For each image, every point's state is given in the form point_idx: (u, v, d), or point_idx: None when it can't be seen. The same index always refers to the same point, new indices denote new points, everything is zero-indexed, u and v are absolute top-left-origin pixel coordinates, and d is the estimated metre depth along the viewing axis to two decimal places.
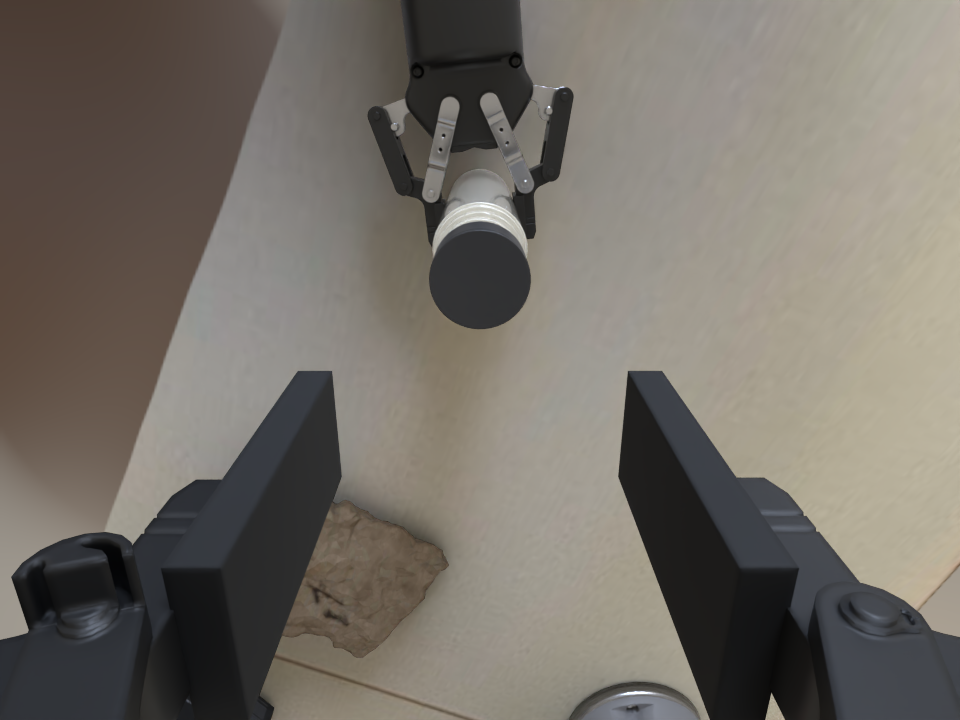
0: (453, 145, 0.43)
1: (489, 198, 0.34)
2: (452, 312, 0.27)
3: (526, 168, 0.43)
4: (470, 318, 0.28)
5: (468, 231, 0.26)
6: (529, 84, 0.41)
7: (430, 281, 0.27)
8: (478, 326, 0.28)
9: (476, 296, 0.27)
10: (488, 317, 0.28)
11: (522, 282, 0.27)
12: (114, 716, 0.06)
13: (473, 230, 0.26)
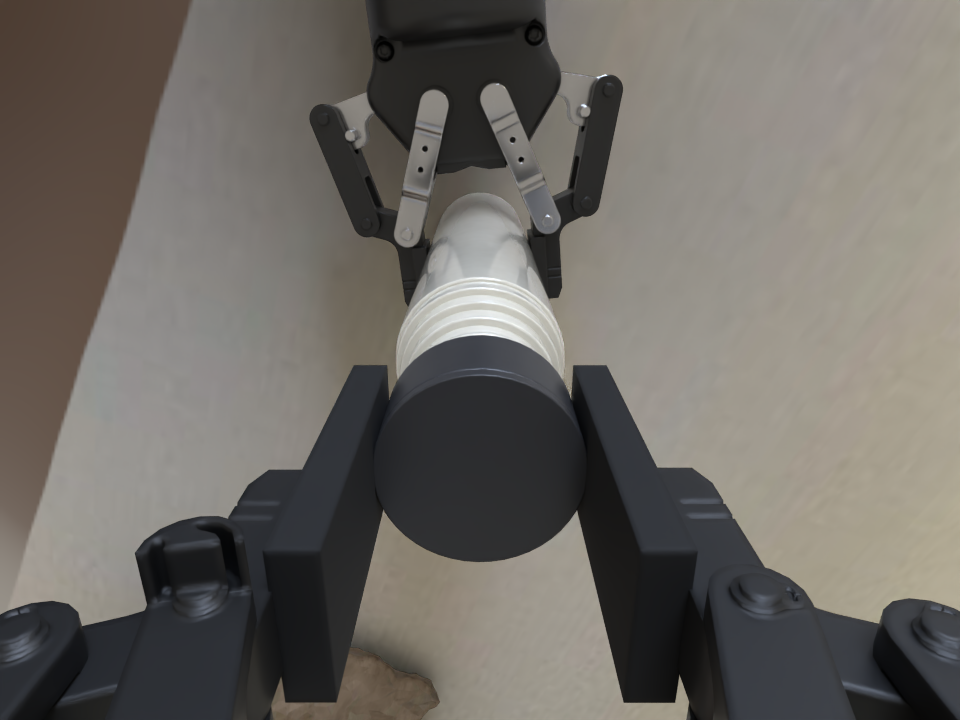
0: (440, 163, 0.28)
1: (496, 263, 0.19)
2: (422, 532, 0.13)
3: (549, 197, 0.29)
4: (460, 543, 0.13)
5: (455, 376, 0.12)
6: (555, 71, 0.27)
7: (374, 475, 0.13)
8: (477, 557, 0.13)
9: (473, 503, 0.13)
10: (498, 541, 0.13)
11: (570, 477, 0.13)
12: (225, 697, 0.06)
13: (466, 373, 0.12)
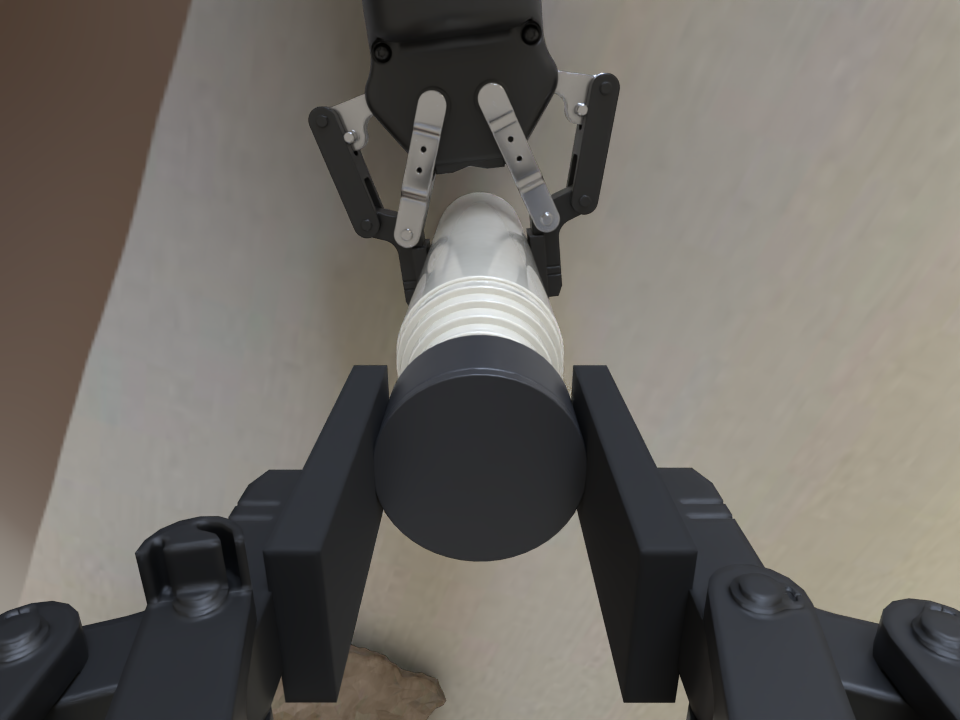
0: (438, 163, 0.28)
1: (495, 262, 0.19)
2: (570, 481, 0.13)
3: (548, 196, 0.29)
4: (561, 446, 0.12)
5: (412, 537, 0.13)
6: (552, 69, 0.27)
7: (538, 545, 0.13)
8: (567, 423, 0.12)
9: (512, 461, 0.13)
10: (536, 418, 0.12)
11: (427, 406, 0.12)
12: (226, 697, 0.06)
13: None
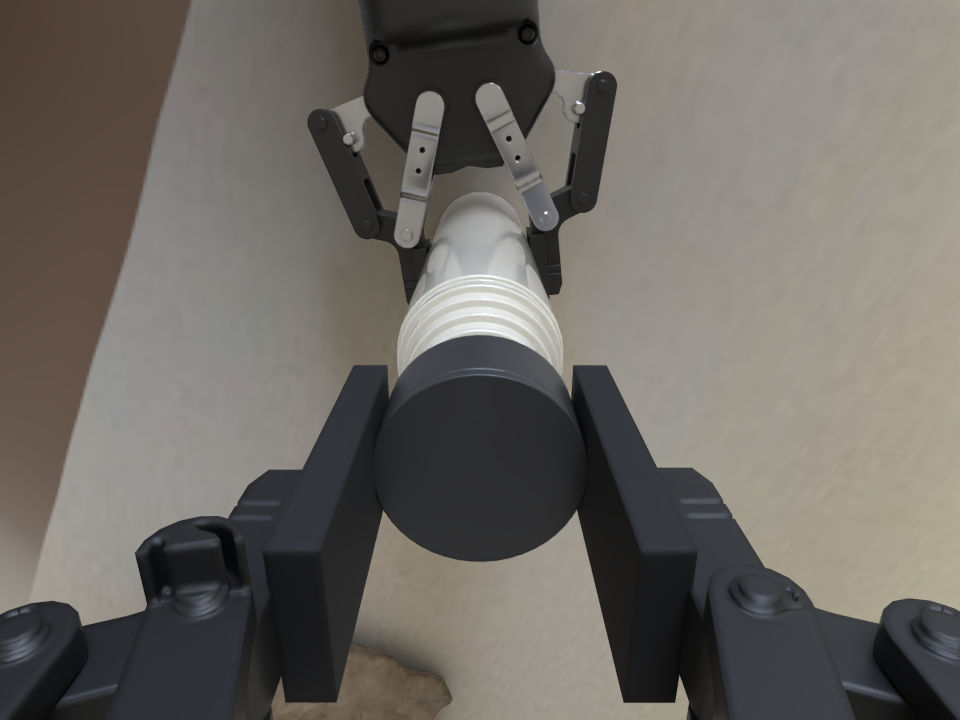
0: (437, 164, 0.29)
1: (494, 261, 0.20)
2: (431, 402, 0.12)
3: (547, 194, 0.29)
4: (406, 432, 0.12)
5: (585, 481, 0.13)
6: (549, 69, 0.27)
7: (515, 383, 0.12)
8: (383, 442, 0.12)
9: (449, 458, 0.13)
10: (397, 467, 0.13)
11: (449, 544, 0.13)
12: (226, 697, 0.06)
13: (582, 489, 0.13)
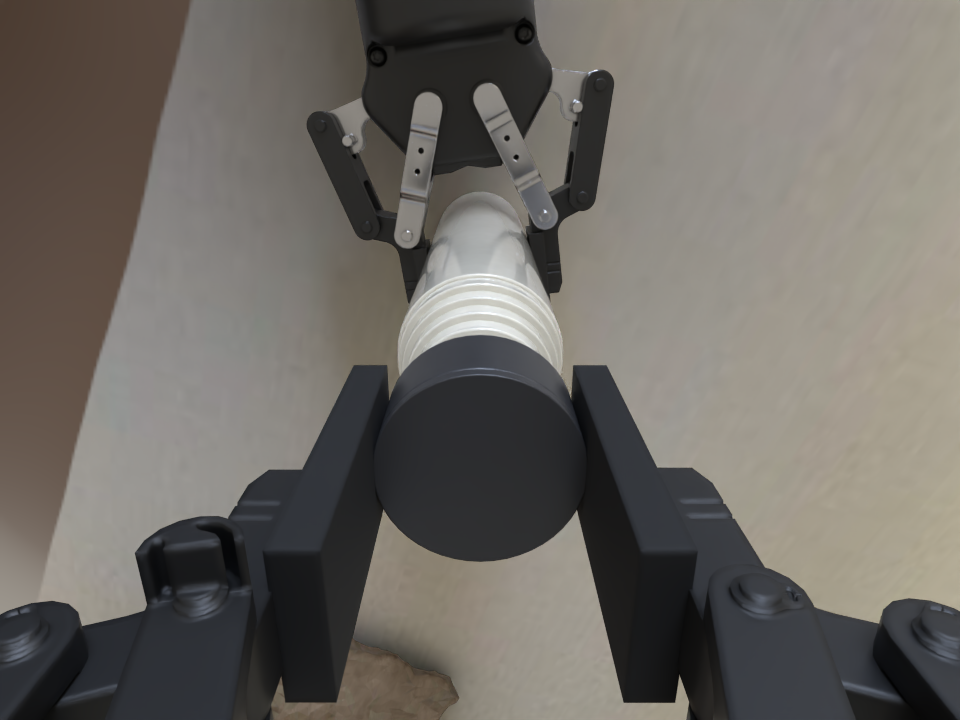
0: (436, 164, 0.29)
1: (493, 260, 0.20)
2: (444, 543, 0.13)
3: (546, 193, 0.29)
4: (484, 544, 0.13)
5: (425, 386, 0.12)
6: (546, 68, 0.27)
7: (381, 500, 0.13)
8: (504, 554, 0.13)
9: (483, 503, 0.13)
10: (519, 534, 0.13)
11: (569, 453, 0.12)
12: (225, 697, 0.06)
13: (435, 381, 0.12)
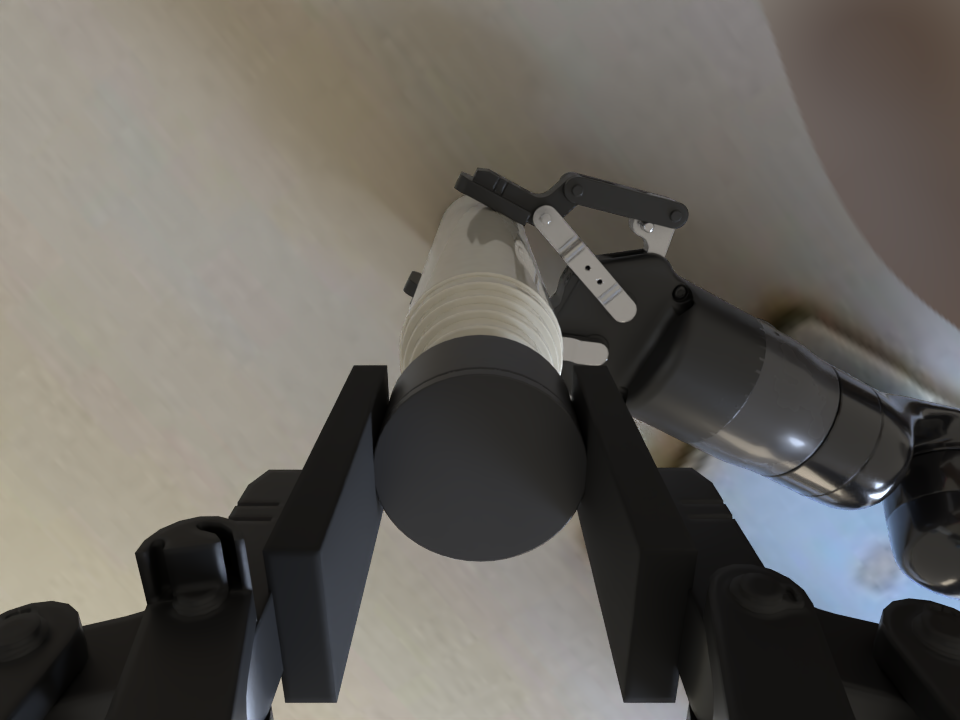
0: (579, 281, 0.31)
1: None
2: (444, 543, 0.13)
3: None
4: (484, 544, 0.13)
5: (425, 386, 0.12)
6: None
7: (381, 500, 0.13)
8: (504, 554, 0.13)
9: (482, 503, 0.13)
10: (519, 534, 0.13)
11: (569, 453, 0.12)
12: (225, 697, 0.06)
13: (435, 381, 0.12)
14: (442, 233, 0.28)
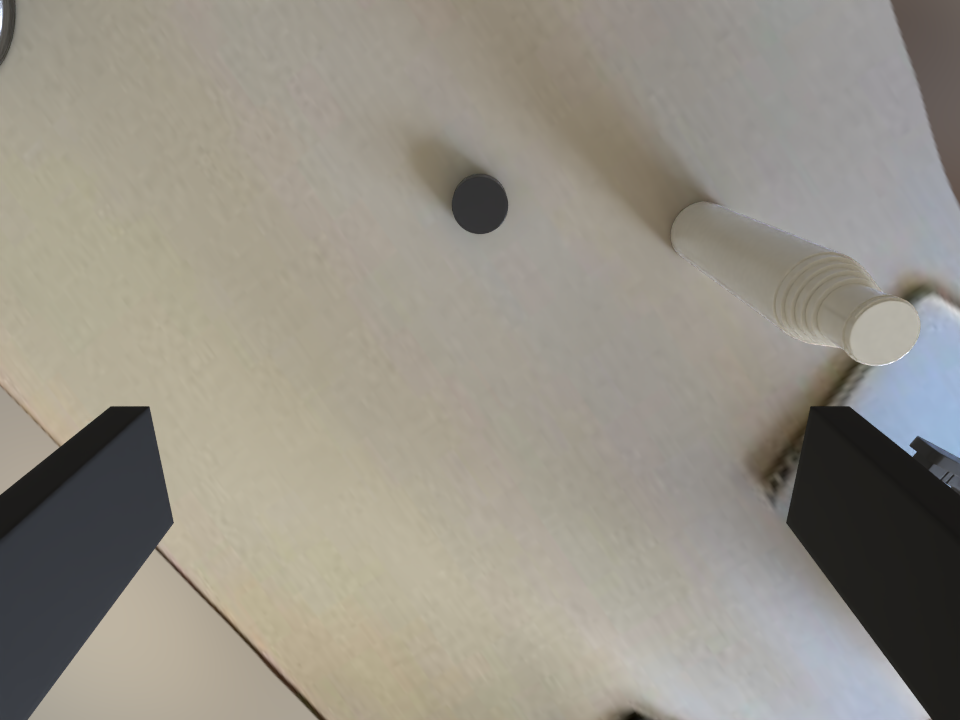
0: None
1: None
2: (470, 227, 0.49)
3: None
4: (481, 228, 0.49)
5: (466, 180, 0.48)
6: None
7: (453, 213, 0.49)
8: (486, 231, 0.49)
9: (480, 215, 0.49)
10: (490, 224, 0.49)
11: (502, 199, 0.48)
12: None
13: (468, 179, 0.48)
14: (725, 230, 0.42)
